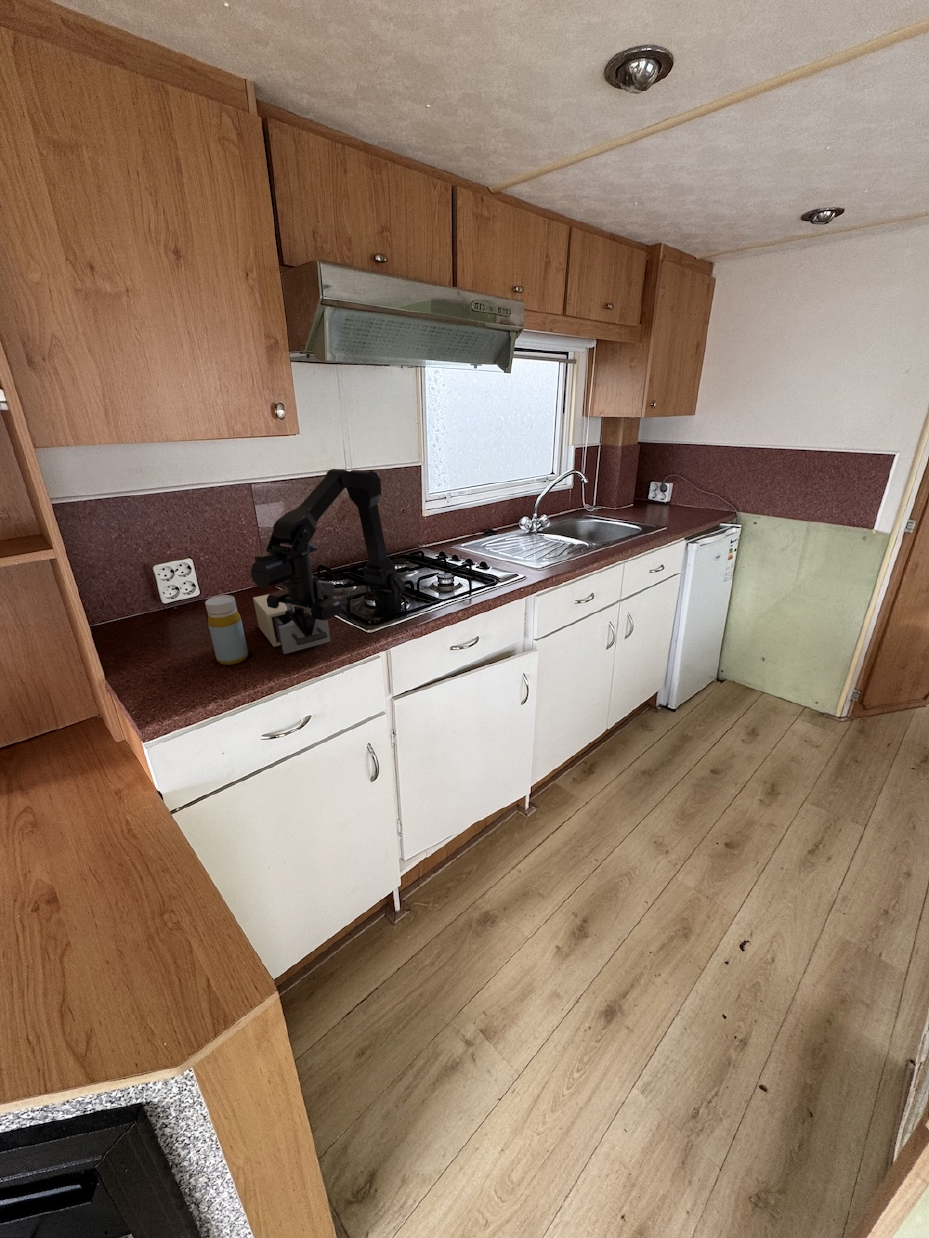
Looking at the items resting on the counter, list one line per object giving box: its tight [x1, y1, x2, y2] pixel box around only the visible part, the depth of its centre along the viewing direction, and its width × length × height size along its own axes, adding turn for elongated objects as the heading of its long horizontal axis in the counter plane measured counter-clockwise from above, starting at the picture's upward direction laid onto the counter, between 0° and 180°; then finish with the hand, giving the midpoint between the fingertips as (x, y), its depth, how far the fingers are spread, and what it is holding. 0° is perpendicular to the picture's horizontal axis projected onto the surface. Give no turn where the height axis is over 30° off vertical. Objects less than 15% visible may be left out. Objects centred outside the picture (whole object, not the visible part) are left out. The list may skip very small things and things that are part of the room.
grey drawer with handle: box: [272, 614, 331, 655], centre depth 131 cm, size 19×11×7 cm, turn 33°
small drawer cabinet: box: [252, 593, 287, 648], centre depth 139 cm, size 15×13×9 cm
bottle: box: [204, 594, 249, 666], centre depth 124 cm, size 7×7×15 cm
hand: (308, 637), depth 126 cm, fingers closed
